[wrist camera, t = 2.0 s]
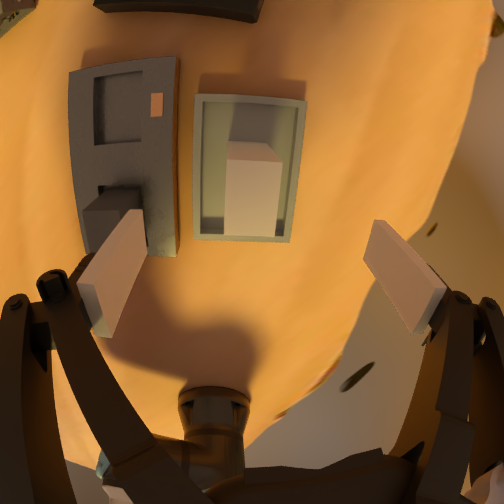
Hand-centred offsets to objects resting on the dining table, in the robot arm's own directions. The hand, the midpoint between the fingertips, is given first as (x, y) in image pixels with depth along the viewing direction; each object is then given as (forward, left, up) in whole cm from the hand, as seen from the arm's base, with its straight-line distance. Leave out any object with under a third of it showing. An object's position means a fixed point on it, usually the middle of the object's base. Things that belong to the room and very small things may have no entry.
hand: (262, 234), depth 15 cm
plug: (0, 0, -16) cm, 16 cm away
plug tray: (0, 0, -17) cm, 17 cm away
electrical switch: (+24, +32, -17) cm, 43 cm away
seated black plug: (-5, +14, -16) cm, 21 cm away
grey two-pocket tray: (+1, +14, -17) cm, 22 cm away
